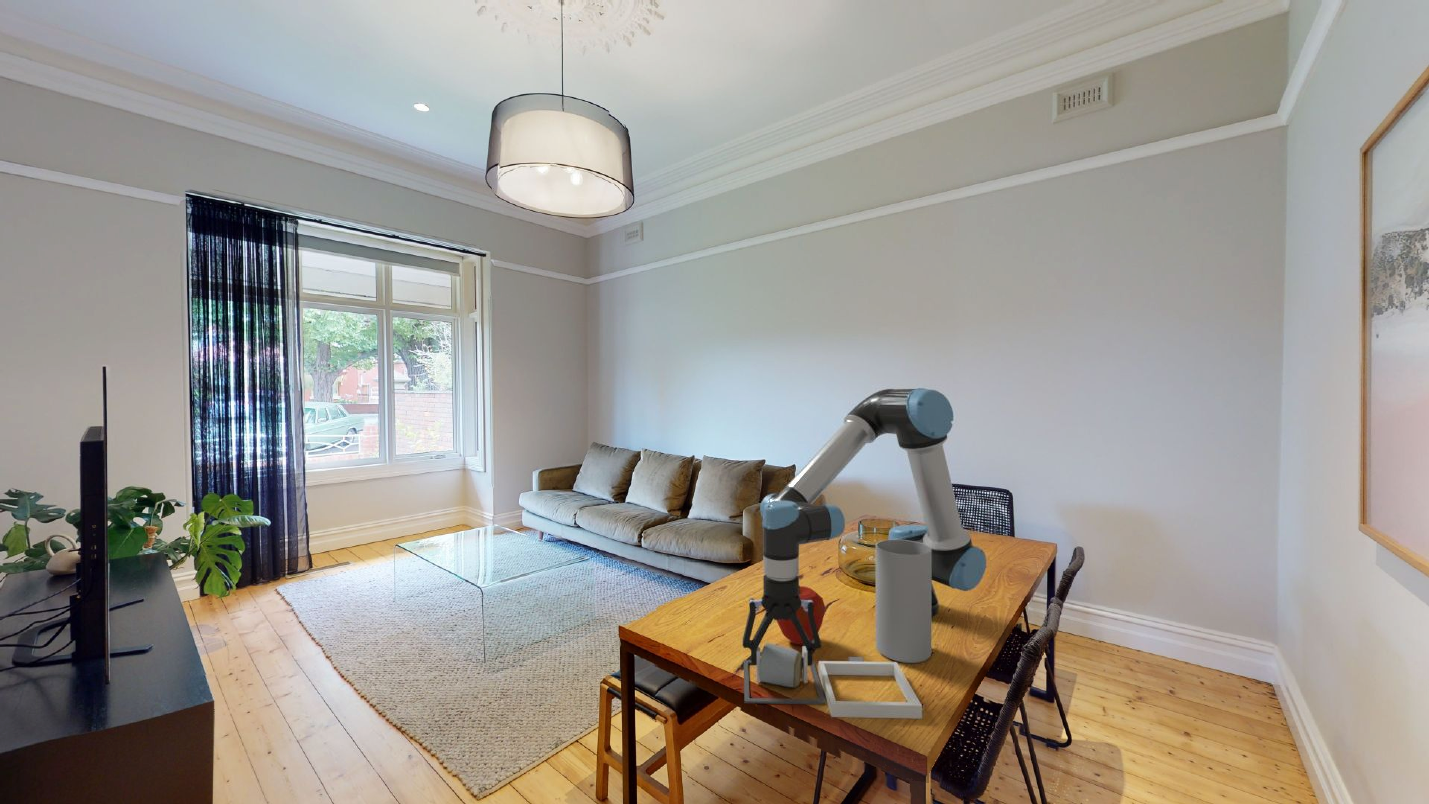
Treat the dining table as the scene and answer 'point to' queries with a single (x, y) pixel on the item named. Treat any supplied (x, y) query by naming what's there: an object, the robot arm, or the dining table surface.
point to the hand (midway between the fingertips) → (781, 679)
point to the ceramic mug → (780, 665)
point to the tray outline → (783, 701)
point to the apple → (804, 617)
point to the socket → (869, 708)
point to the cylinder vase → (903, 600)
